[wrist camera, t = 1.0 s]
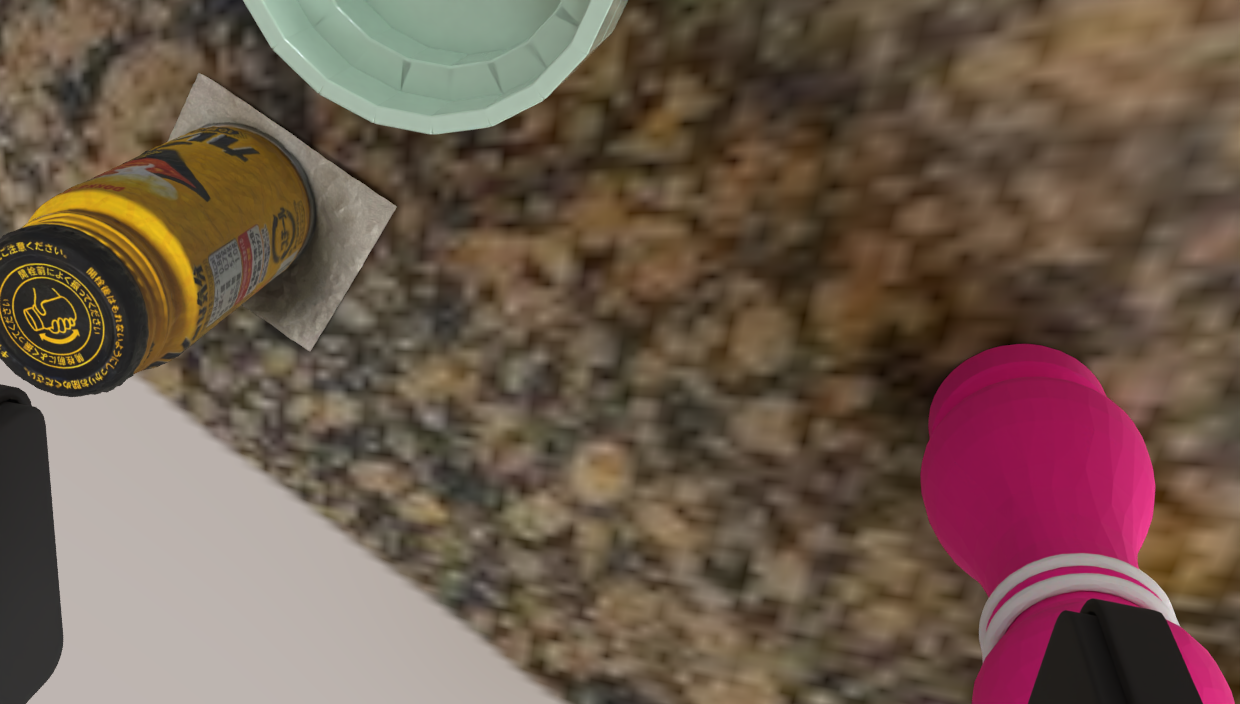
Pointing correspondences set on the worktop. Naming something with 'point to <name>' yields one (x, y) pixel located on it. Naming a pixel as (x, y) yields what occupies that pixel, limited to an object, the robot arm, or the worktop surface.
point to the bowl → (435, 54)
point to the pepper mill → (1042, 508)
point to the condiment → (182, 249)
